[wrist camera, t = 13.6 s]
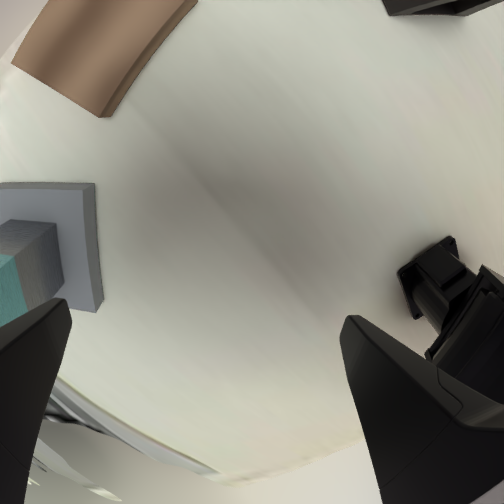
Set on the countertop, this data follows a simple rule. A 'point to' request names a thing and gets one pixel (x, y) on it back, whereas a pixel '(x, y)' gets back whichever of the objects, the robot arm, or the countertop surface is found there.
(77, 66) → the stand
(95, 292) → the stand
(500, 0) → the phone stand
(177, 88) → the countertop surface
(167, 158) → the countertop surface
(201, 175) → the countertop surface
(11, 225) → the block
